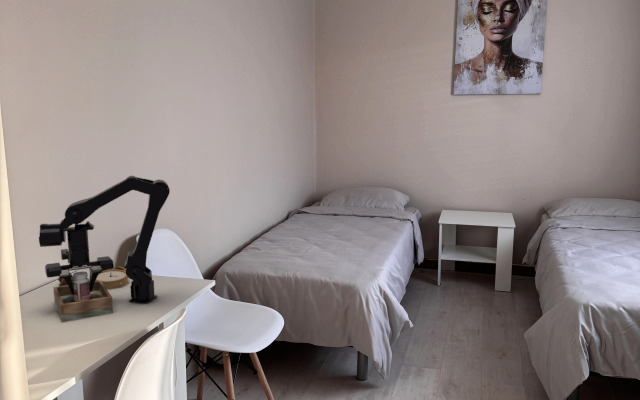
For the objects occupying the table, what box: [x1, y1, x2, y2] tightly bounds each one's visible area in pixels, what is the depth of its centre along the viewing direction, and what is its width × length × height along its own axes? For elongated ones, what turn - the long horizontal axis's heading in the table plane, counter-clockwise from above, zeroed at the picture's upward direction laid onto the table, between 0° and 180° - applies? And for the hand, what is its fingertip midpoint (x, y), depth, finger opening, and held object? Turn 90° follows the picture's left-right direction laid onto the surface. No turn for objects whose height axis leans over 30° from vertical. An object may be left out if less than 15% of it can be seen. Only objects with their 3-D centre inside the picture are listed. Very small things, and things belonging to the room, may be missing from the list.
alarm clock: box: [96, 266, 129, 290], centre depth 188 cm, size 11×5×15 cm
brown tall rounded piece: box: [57, 271, 74, 287], centre depth 183 cm, size 6×5×15 cm
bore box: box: [53, 280, 114, 323], centre depth 164 cm, size 14×18×5 cm
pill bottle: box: [72, 271, 90, 302], centre depth 165 cm, size 5×5×8 cm
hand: (81, 293), depth 165 cm, fingers closed on pill bottle, 5 cm apart
